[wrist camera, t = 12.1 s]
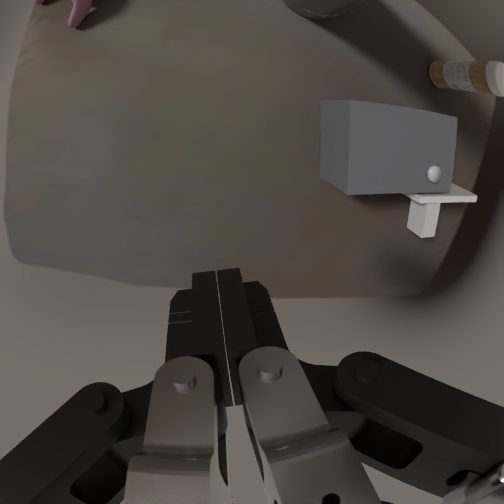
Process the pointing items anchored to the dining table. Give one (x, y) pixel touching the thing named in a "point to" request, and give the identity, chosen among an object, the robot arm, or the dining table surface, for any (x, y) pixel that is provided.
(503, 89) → the sprinkles bottle
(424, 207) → the side cover
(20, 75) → the dining table surface
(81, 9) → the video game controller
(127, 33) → the dining table surface
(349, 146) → the box
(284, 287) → the dining table surface
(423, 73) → the dining table surface
